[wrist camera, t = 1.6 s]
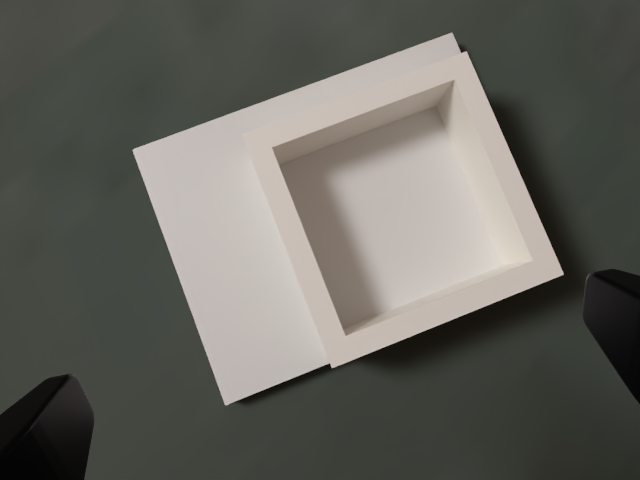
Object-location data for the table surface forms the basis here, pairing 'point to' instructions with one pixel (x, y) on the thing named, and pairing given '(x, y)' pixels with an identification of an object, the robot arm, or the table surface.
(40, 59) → the table surface
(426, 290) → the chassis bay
